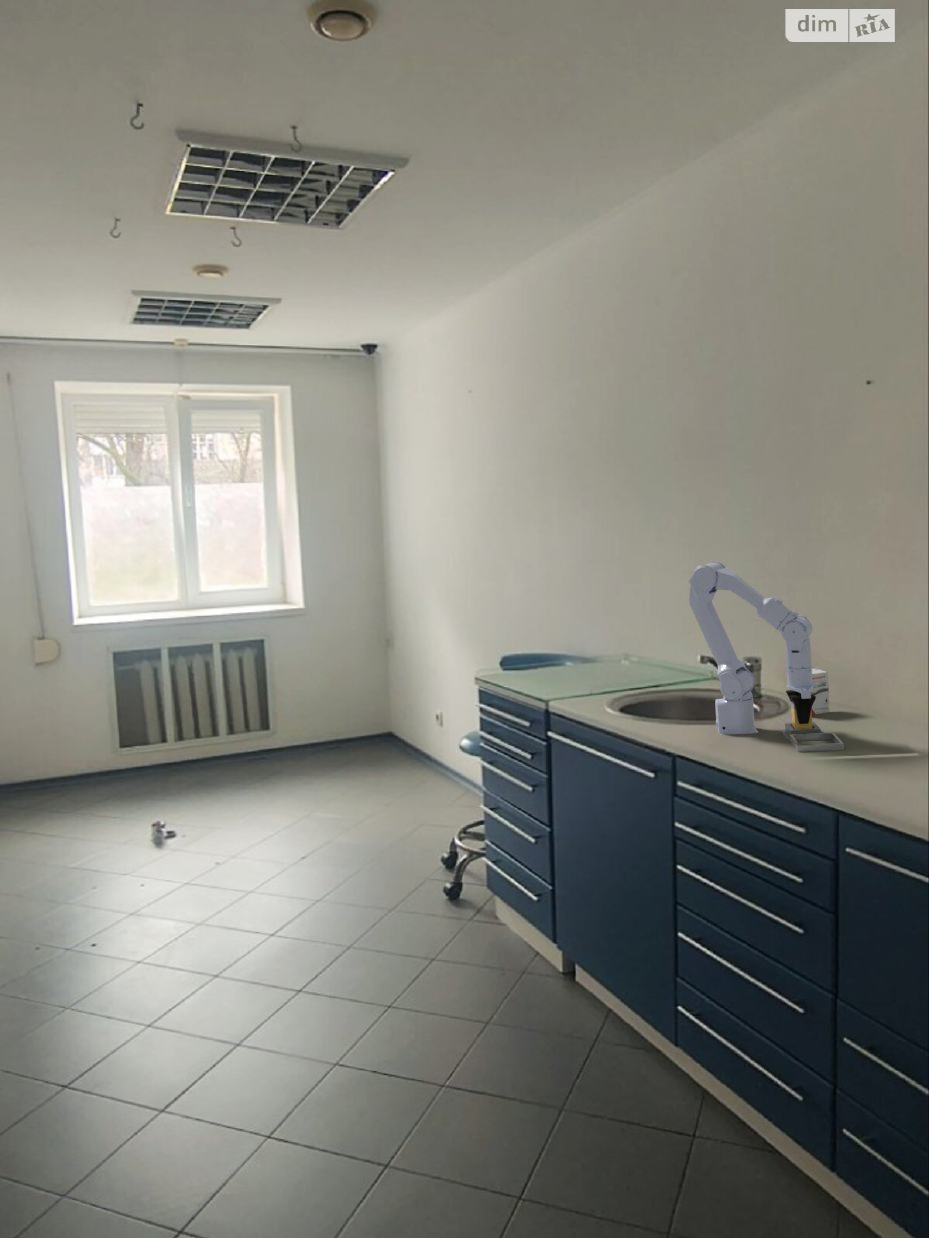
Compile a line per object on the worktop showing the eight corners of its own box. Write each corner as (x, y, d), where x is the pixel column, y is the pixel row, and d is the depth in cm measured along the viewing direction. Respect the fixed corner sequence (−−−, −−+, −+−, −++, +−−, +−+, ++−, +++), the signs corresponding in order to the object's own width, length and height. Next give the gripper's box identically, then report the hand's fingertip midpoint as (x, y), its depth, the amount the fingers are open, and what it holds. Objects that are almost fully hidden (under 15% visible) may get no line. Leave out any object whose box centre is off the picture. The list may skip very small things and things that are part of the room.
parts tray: (798, 754, 201) (797, 745, 200) (790, 742, 210) (789, 734, 210) (844, 752, 199) (843, 743, 198) (833, 740, 208) (833, 732, 208)
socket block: (787, 741, 211) (786, 731, 211) (780, 731, 220) (779, 722, 220) (826, 739, 210) (825, 729, 209) (818, 730, 218) (817, 720, 218)
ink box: (802, 718, 231) (800, 675, 229) (791, 715, 235) (789, 672, 234) (830, 714, 232) (828, 670, 231) (819, 710, 237) (817, 667, 236)
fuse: (795, 733, 213) (794, 705, 212) (792, 729, 217) (790, 701, 216) (812, 732, 212) (811, 704, 212) (809, 728, 216) (807, 700, 216)
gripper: (823, 671, 205) (825, 727, 207) (810, 660, 219) (812, 713, 221) (791, 673, 206) (794, 729, 208) (780, 662, 221) (783, 714, 222)
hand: (801, 721), depth 215 cm, fingers closed on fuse, 4 cm apart
